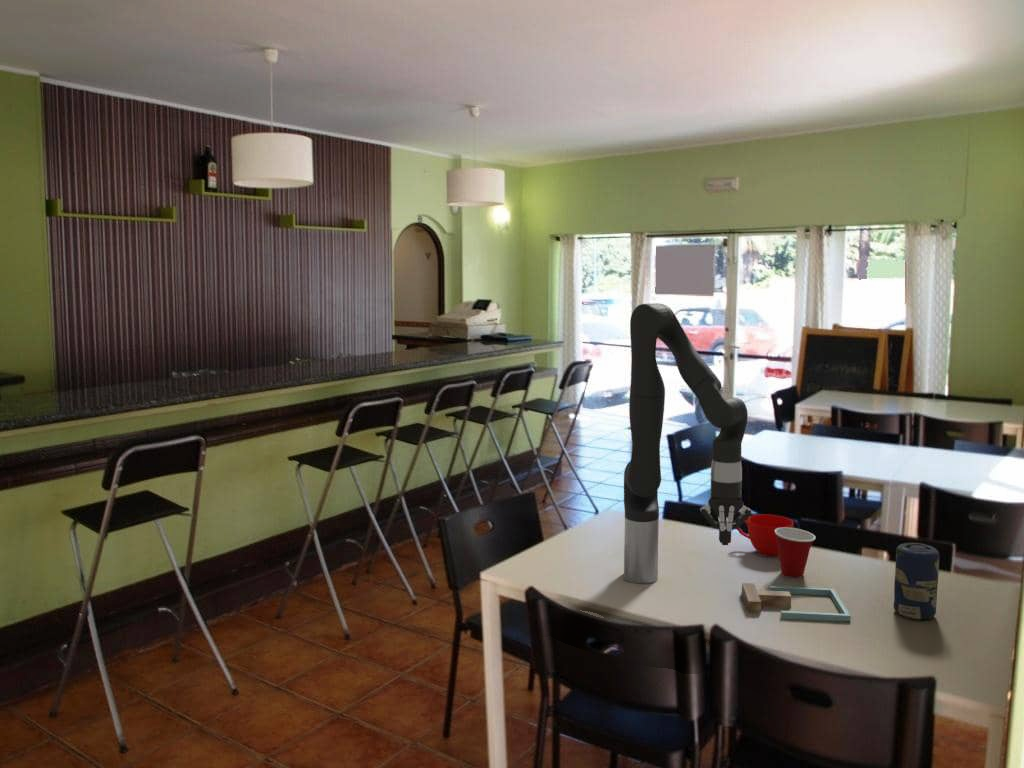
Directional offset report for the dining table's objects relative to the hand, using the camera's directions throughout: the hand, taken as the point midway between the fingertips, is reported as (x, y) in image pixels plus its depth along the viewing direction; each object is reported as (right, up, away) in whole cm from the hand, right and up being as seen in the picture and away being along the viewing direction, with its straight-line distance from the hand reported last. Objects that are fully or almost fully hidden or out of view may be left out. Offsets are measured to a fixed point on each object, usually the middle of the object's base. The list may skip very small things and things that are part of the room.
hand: (724, 544), depth 208 cm
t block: (+11, -15, 0) cm, 19 cm away
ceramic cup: (+21, -10, +39) cm, 45 cm away
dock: (+20, -15, -1) cm, 25 cm away
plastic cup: (+24, -13, +21) cm, 34 cm away
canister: (+45, -16, -6) cm, 48 cm away
